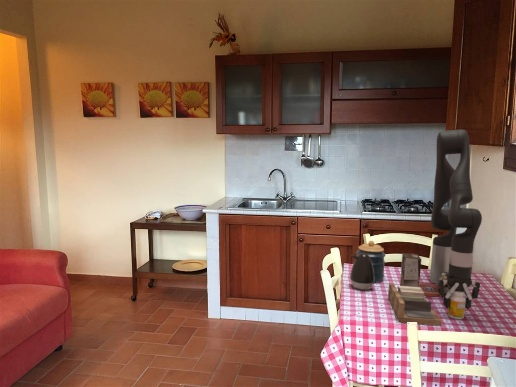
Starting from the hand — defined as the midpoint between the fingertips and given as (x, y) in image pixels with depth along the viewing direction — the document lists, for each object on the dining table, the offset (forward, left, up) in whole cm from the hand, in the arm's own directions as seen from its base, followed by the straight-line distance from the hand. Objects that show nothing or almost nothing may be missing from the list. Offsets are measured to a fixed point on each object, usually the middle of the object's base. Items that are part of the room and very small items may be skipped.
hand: (456, 307), depth 153 cm
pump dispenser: (-24, -31, -3) cm, 39 cm away
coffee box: (-21, -12, -3) cm, 24 cm away
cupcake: (-21, +4, -3) cm, 22 cm away
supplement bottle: (0, 0, -3) cm, 3 cm away
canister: (-38, -26, -3) cm, 46 cm away
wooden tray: (-1, -15, -3) cm, 15 cm away
